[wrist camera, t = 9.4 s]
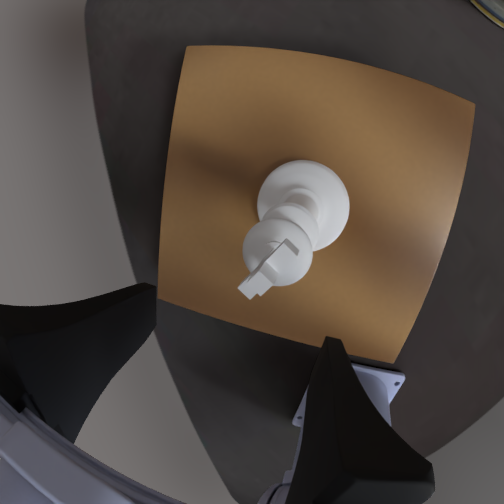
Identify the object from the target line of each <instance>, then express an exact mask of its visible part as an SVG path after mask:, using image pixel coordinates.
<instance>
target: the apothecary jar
mask: <svg viewBox="0 0 504 504" xmlns="http://www.w3.org/2000/svg"><path fill="white" fill-rule="evenodd" d="M470 1H471V2H472V3H473V4H474V5H475V6H476V7H477V8H478V9H479V10H480V11H481V12H482V13H483V14H484V15H485V16H487V17H488V18H489V19H490V20H492V21H493V22H494V23H496V24H497V25H499V26H500V27H502V28H503V29H504V0H470Z"/></svg>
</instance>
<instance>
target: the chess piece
mask: <svg viewBox="0 0 504 504" xmlns="http://www.w3.org/2000/svg"><path fill="white" fill-rule="evenodd" d="M257 211H258V216H259V220H260V222H259V223H257V224H256V225H254V226H253V227H252V228H251V229H250V230H249V232H248V233H247V235H246V237H245V239H244V242H243V249H242V252H243V259H244V262H245V264H246V267H247V268H248V270H249V271H250V274H249V275H248V276H247V277H246V278H245V279H244V280H243V281H242V282H241V284H240V285H239V286H238V289H239V290H240V291H241V292H242V293H243V294H244V295H245V296H246V297H247V298H248V299H252V298H253V297H254V296H255V295H256V294H258V295H260V296H262V295H263V294H264V293H265V292H266V291H267V290H268V289H269V288H270V287H272V286H287V285H290V284H293V283H295V282H297V281H298V280H300V279H301V278H302V277H303V276H304V275H305V274H306V273H307V271H308V270H309V268H310V265H311V262H312V257H313V251H317V250H320V249H322V248H325V247H326V246H328V245H330V244H331V243H332V242H334V241H335V240H336V239H337V238H338V236H339V235H340V234H341V232H342V231H343V229H344V227H345V225H346V223H347V220H348V216H349V197H348V193H347V190H346V188H345V186H344V184H343V182H342V181H341V179H340V178H339V177H338V176H337V175H336V174H335V173H334V172H333V171H332V170H331V169H329V168H328V167H326V166H325V165H323V164H320V163H318V162H314V161H310V160H296V161H291V162H288V163H285V164H283V165H281V166H279V167H278V168H276V169H275V170H274V171H272V172H271V173H270V174H269V176H268V177H267V178H266V180H265V181H264V183H263V185H262V187H261V189H260V192H259V195H258V201H257Z"/></svg>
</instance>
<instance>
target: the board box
mask: <svg viewBox="0 0 504 504" xmlns="http://www.w3.org/2000/svg"><path fill="white" fill-rule="evenodd" d="M474 112H475V104H474V103H472V102H470V101H468V100H466V99H464V98H461V97H459V96H457V95H454V94H452V93H450V92H447V91H445V90H442V89H440V88H437V87H435V86H432V85H430V84H427V83H424V82H421V81H419V80H416V79H413V78H410V77H407V76H404V75H401V74H398V73H394V72H391V71H388V70H384V69H381V68H377V67H373V66H369V65H366V64H362V63H357V62H353V61H349V60H344V59H339V58H334V57H329V56H324V55H318V54H312V53H306V52H299V51H291V50H283V49H273V48H262V47H248V46H218V45H205V46H187V47H186V51H185V56H184V60H183V65H182V70H181V75H180V80H179V85H178V91H177V96H176V102H175V108H174V114H173V120H172V127H171V134H170V141H169V148H168V156H167V164H166V173H165V182H164V192H163V203H162V215H161V229H160V245H159V266H158V298H159V299H161V300H164V301H167V302H170V303H173V304H175V305H178V306H181V307H184V308H187V309H190V310H193V311H196V312H199V313H202V314H205V315H208V316H211V317H214V318H218V319H221V320H224V321H227V322H230V323H234V324H237V325H240V326H244V327H247V328H250V329H254V330H257V331H261V332H264V333H268V334H271V335H275V336H278V337H282V338H286V339H289V340H293V341H297V342H301V343H305V344H309V345H312V346H316V347H322V345H323V342H324V339H325V337H326V336H329V337H333V338H338V339H341V341H342V342H343V345H344V347H345V350H346V352H347V354H350V355H355V356H359V357H364V358H369V359H373V360H378V361H383V362H388V363H394V361H395V360H396V358H397V356H398V354H399V352H400V350H401V348H402V346H403V344H404V342H405V340H406V338H407V336H408V334H409V332H410V330H411V328H412V326H413V324H414V322H415V320H416V318H417V315H418V313H419V311H420V309H421V306H422V304H423V302H424V299H425V297H426V295H427V292H428V290H429V287H430V285H431V282H432V280H433V277H434V275H435V272H436V269H437V267H438V264H439V261H440V258H441V256H442V253H443V250H444V247H445V244H446V241H447V238H448V234H449V231H450V228H451V225H452V221H453V218H454V214H455V211H456V207H457V203H458V199H459V195H460V191H461V187H462V183H463V178H464V174H465V169H466V164H467V159H468V153H469V148H470V142H471V135H472V128H473V120H474ZM296 160H310V161H314V162H318V163H320V164H323V165H325V166H326V167H328V168H329V169H331V170H332V171H333V172H334V173H335V174H336V175H337V176H338V177H339V178H340V179H341V181H342V182H343V184H344V186H345V188H346V190H347V193H348V197H349V216H348V220H347V223H346V225H345V227H344V229H343V231H342V232H341V234H340V235H339V236H338V238H337V239H336V240H335V241H334V242H332V243H331V244H330V245H328V246H326V247H325V248H322V249H320V250H317V251H313V257H312V262H311V265H310V268H309V270H308V271H307V273H306V274H305V275H304V276H303V277H302V278H301V279H300V280H298V281H297V282H295V283H293V284H290V285H287V286H272V287H270V288H269V289H268V290H267V291H266V292H265V293H264V294H263V295H262V296H260V295H258V294H256V295H255V296H254V297H253V298H252V299H248V298H247V297H246V296H245V295H244V294H243V293H242V292H241V291H240V290H239V289H238V286H239V285H240V284H241V282H242V281H243V280H244V279H245V278H246V277H247V276H248V275H249V274H250V271H249V270H248V268H247V267H246V264H245V262H244V259H243V252H242V249H243V242H244V239H245V237H246V235H247V233H248V232H249V230H250V229H251V228H252V227H253V226H254V225H256V224H257V223H259V222H260V220H259V216H258V211H257V201H258V195H259V192H260V189H261V187H262V185H263V183H264V181H265V180H266V178H267V177H268V176H269V174H270V173H271V172H272V171H274V170H275V169H276V168H278V167H279V166H281V165H283V164H285V163H288V162H291V161H296Z"/></svg>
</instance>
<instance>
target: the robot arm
mask: <svg viewBox="0 0 504 504" xmlns="http://www.w3.org/2000/svg"><path fill="white" fill-rule="evenodd" d="M155 326H156V286H153V285H150V284H148V283H140V284H136V285H133V286H129V287H126V288H123V289H119V290H116V291H113V292H110V293H107V294H103V295H100V296H96V297H92V298H88V299H85V300H80V301H76V302H71V303H65V304H58V305H47V306H11V305H2V304H0V458H1V460H0V504H186V503H183V502H181V501H178V500H176V499H173V498H171V497H168V496H166V495H164V494H162V493H159V492H157V491H155V490H153V489H150V488H148V487H146V486H144V485H142V484H140V483H138V482H136V481H134V480H132V479H130V478H128V477H126V476H125V475H123V474H121V473H119V472H117V471H116V470H114V469H112V468H110V467H108V466H107V465H105V464H103V463H102V462H100V461H98V460H97V459H95V458H94V457H92V456H91V455H89V454H87V453H86V452H84V451H83V450H81V449H80V448H78V447H77V446H75V445H74V442H75V440H76V438H77V436H78V433H79V432H80V430H81V428H82V425H83V424H84V422H85V420H86V418H87V416H88V415H89V413H90V411H91V409H92V408H93V406H94V405H95V403H96V401H97V400H98V398H99V396H100V395H101V394H102V392H103V391H104V389H105V388H106V386H107V385H108V383H109V382H110V380H111V379H112V378H113V377H114V376H115V374H116V373H117V372H118V371H119V370H120V369H121V368H122V367H123V366H124V364H125V363H126V362H127V361H128V360H129V359H130V358H131V357H132V356H133V354H135V352H136V351H137V350H138V349H139V348H140V347H141V346H142V344H144V342H145V341H146V340H147V338H148V337H149V335H150V334H151V332H152V331H153V329H154V328H155ZM404 380H405V375H404V374H403V373H400V372H394V371H389V370H384V369H378V368H373V367H368V366H364V365H359V364H354V363H351V362H350V359H349V357H348V355H347V352H346V350H345V347H344V345H343V342H342V341H341V339H338V338H333V337H329V336H326V337H325V339H324V342H323V345H322V347H321V350H320V352H319V355H318V357H317V360H316V363H315V365H314V367H313V370H312V372H311V376H310V381H309V385H308V387H307V389H306V392H305V394H304V396H303V398H302V401H301V403H300V405H299V407H298V410H297V412H296V414H295V416H294V418H293V421H292V424H293V425H295V426H299V427H301V430H300V435H299V440H298V445H297V449H296V454H295V458H294V462H293V467H292V470H288V471H285V475H284V478H283V482H282V483H277V484H273V485H272V486H270V487H269V488H268V489H267V490H266V491H265V492H264V494H263V495H262V497H261V498H260V500H259V501H258V503H257V504H422V503H424V502H425V501H426V500H428V499H429V498H430V497H431V496H432V494H433V493H434V491H435V481H434V473H433V467H432V463H430V462H429V461H428V460H426V459H425V458H424V457H423V456H421V455H420V454H419V453H417V452H416V451H415V450H414V449H413V448H411V447H410V446H409V445H408V444H407V443H406V442H405V441H404V440H403V439H402V438H401V437H400V436H399V435H398V434H397V433H396V432H395V431H394V430H393V429H392V427H391V419H390V409H389V403H390V402H391V400H392V399H393V397H394V396H395V394H396V393H397V391H398V390H399V388H400V386H401V385H402V383H403V382H404ZM398 381H399V382H398ZM395 382H397V383H395Z"/></svg>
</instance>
